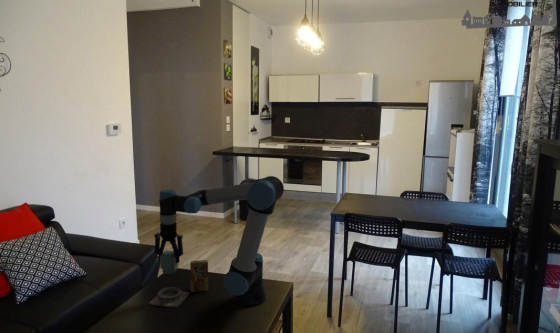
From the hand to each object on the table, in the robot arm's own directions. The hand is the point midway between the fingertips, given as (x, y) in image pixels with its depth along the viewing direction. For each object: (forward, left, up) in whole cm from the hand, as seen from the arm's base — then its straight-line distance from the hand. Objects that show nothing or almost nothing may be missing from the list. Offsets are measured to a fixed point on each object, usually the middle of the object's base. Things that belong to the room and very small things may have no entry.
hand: (169, 268), depth 182 cm
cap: (0, 0, -1) cm, 1 cm away
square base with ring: (0, 0, -16) cm, 16 cm away
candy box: (-10, -12, -16) cm, 23 cm away
